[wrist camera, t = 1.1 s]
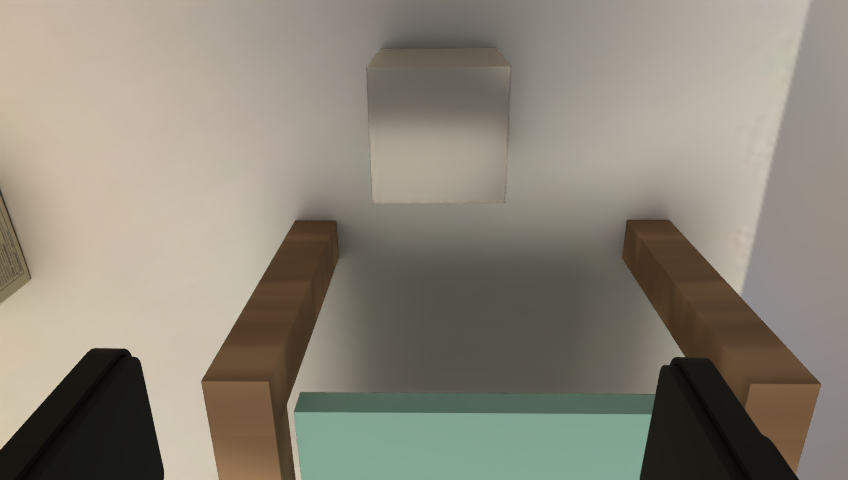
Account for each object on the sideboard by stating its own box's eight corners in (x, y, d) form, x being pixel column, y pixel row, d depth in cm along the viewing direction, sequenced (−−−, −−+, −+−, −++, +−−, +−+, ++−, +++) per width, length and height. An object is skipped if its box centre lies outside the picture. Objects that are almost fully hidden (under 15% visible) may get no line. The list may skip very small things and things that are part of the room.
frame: (294, 220, 30) (201, 381, 18) (669, 220, 30) (821, 384, 18) (318, 461, 36) (259, 702, 24) (631, 464, 36) (727, 710, 24)
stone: (381, 48, 27) (366, 67, 22) (496, 47, 27) (510, 66, 22) (385, 160, 29) (372, 203, 24) (492, 159, 29) (505, 203, 24)
